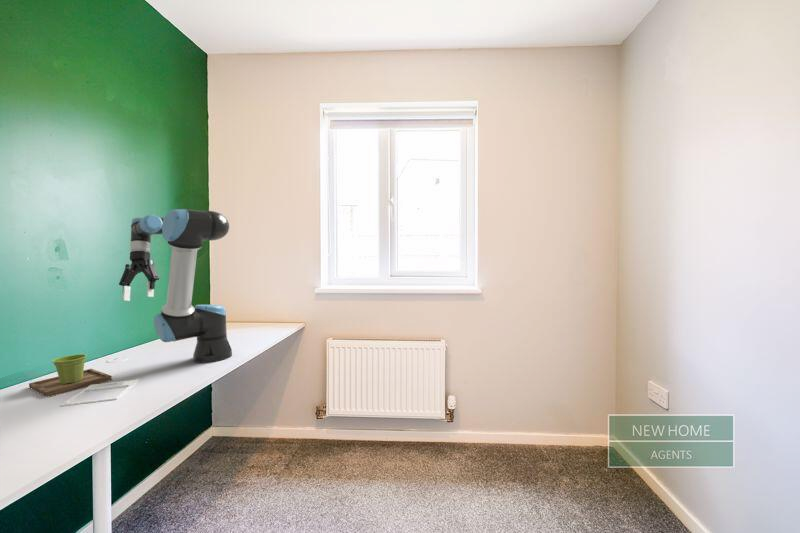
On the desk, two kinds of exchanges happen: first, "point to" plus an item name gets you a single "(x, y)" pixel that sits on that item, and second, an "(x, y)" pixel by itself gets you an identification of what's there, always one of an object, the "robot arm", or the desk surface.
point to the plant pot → (70, 368)
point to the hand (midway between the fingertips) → (138, 298)
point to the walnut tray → (55, 387)
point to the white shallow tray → (100, 387)
